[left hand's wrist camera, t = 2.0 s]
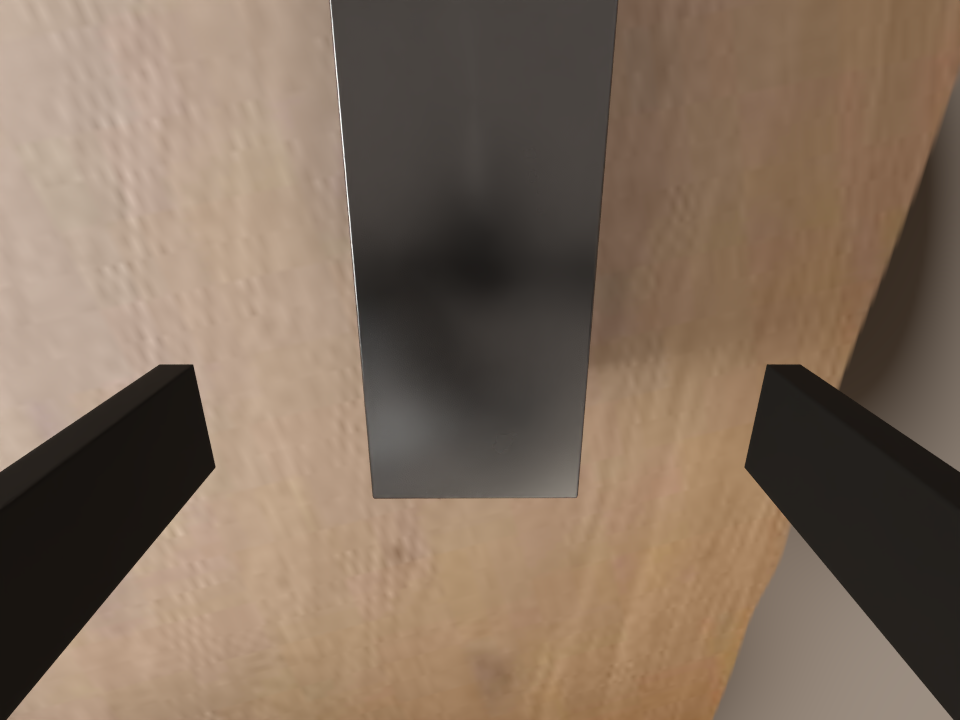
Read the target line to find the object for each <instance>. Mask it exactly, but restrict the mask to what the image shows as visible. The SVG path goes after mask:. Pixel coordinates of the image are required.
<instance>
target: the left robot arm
mask: <svg viewBox="0 0 960 720" xmlns="http://www.w3.org/2000/svg"><path fill="white" fill-rule="evenodd" d="M214 469H215V463H214V458H213V453H212V449H211V444H210V440H209V435H208V431H207V426H206V421H205V417H204V412H203V408H202V403H201V398H200V394H199V389H198V385H197V380H196V376H195V371H194V366H193V365H158V366H157V367H155V368H154V369H152V370H151V371H149V372H148V373H146V374H145V375H143V376H142V377H140V378H139V379H138V380H136V381H135V382H133V383H132V384H130V385H129V386H127V387H126V388H124V389H123V390H121V391H120V392H118V393H117V394H115V395H114V396H112V397H111V398H109V399H108V400H106V401H105V402H103V403H102V404H100V405H99V406H98V407H96V408H95V409H93V410H92V411H90V412H89V413H87V414H86V415H84V416H83V417H81V418H80V419H78V420H77V421H75V422H74V423H72V424H71V425H69V426H68V427H66V428H65V429H63V430H62V431H61V432H59V433H58V434H56V435H55V436H53V437H52V438H50V439H49V440H47V441H46V442H44V443H43V444H41V445H40V446H38V447H37V448H35V449H34V450H32V451H31V452H29V453H28V454H26V455H25V456H24V457H22V458H21V459H19V460H18V461H16V462H15V463H13V464H12V465H10V466H9V467H7V468H6V469H4V470H3V471H1V472H0V720H7V718H8V717H9V716H10V715H11V714H12V712H13V711H14V710H15V709H16V708H17V706H18V705H19V704H20V703H21V702H22V700H23V699H24V698H25V697H26V695H27V694H28V693H29V692H30V691H31V689H32V688H33V687H34V686H35V685H36V683H37V682H38V681H39V680H40V679H41V677H42V676H43V675H44V674H45V673H46V671H47V670H48V669H49V668H50V667H51V665H52V664H53V663H54V662H55V660H56V659H57V658H58V657H59V656H60V654H61V653H62V652H63V651H64V650H65V648H66V647H67V646H68V645H69V644H70V642H71V641H72V640H73V639H74V638H75V636H76V635H77V634H78V633H79V632H80V630H81V629H82V628H83V627H84V625H85V624H86V623H87V622H88V621H89V619H90V618H91V617H92V616H93V615H94V613H95V612H96V611H97V610H98V609H99V607H100V606H101V605H102V604H103V603H104V601H105V600H106V599H107V598H108V597H109V595H110V594H111V593H112V592H113V590H114V589H115V588H116V587H117V586H118V584H119V583H120V582H121V581H122V580H123V578H124V577H125V576H126V575H127V574H128V572H129V571H130V570H131V569H132V568H133V566H134V565H135V564H136V563H137V562H138V560H139V559H140V558H141V557H142V555H143V554H144V553H145V552H146V551H147V549H148V548H149V547H150V546H151V545H152V543H153V542H154V541H155V540H156V539H157V537H158V536H159V535H160V534H161V533H162V531H163V530H164V529H165V528H166V527H167V525H168V524H169V523H170V522H171V520H172V519H173V518H174V517H175V516H176V514H177V513H178V512H179V511H180V510H181V508H182V507H183V506H184V505H185V504H186V502H187V501H188V500H189V499H190V498H191V496H192V495H193V494H194V493H195V492H196V490H197V489H198V488H199V487H200V485H201V484H202V483H203V482H204V481H205V479H206V478H207V477H208V476H209V475H210V473H211V472H212V471H213V470H214ZM745 469H746V470H747V471H748V472H749V473H750V475H751V476H752V477H753V478H754V479H755V481H756V482H757V483H758V484H759V485H760V487H761V488H762V489H763V490H764V492H765V493H766V494H767V495H768V496H769V498H770V499H771V500H772V501H773V502H774V504H775V505H776V506H777V507H778V508H779V510H780V511H781V512H782V513H783V514H784V516H785V517H786V518H787V519H788V520H789V522H790V523H791V524H792V525H793V527H794V528H795V529H796V530H797V531H798V533H799V534H800V535H801V536H802V537H803V539H804V540H805V541H806V542H807V543H808V545H809V546H810V547H811V548H812V549H813V551H814V552H815V553H816V554H817V555H818V557H819V558H820V559H821V560H822V562H823V563H824V564H825V565H826V566H827V568H828V569H829V570H830V571H831V572H832V574H833V575H834V576H835V577H836V578H837V580H838V581H839V582H840V583H841V584H842V586H843V587H844V588H845V589H846V590H847V592H848V593H849V594H850V595H851V597H852V598H853V599H854V600H855V601H856V602H857V604H858V605H859V606H860V607H861V609H862V610H863V611H864V612H865V613H866V615H867V616H868V617H869V618H870V619H871V621H872V622H873V623H874V624H875V625H876V627H877V628H878V629H879V630H880V631H881V633H882V634H883V635H884V636H885V638H886V639H887V640H888V641H889V642H890V644H891V645H892V646H893V647H894V648H895V650H896V651H897V652H898V653H899V654H900V656H901V657H902V658H903V659H904V660H905V662H906V663H907V664H908V665H909V666H910V668H911V669H912V670H913V671H914V673H915V674H916V675H917V676H918V677H919V679H920V680H921V681H922V682H923V683H924V684H925V686H926V687H927V688H928V689H929V691H930V692H931V693H932V694H933V695H934V697H935V698H936V699H937V700H938V702H939V703H940V704H941V705H942V706H943V708H944V709H945V710H946V711H947V712H948V714H949V715H950V716H951V717H952V718H953V720H960V472H959V471H957V470H956V469H954V468H953V467H951V466H950V465H948V464H947V463H945V462H944V461H942V460H941V459H939V458H938V457H936V456H935V455H933V454H932V453H931V452H929V451H928V450H926V449H925V448H923V447H922V446H920V445H919V444H917V443H916V442H914V441H913V440H911V439H910V438H908V437H907V436H905V435H904V434H902V433H901V432H899V431H898V430H896V429H895V428H894V427H892V426H891V425H889V424H888V423H886V422H885V421H883V420H882V419H880V418H879V417H877V416H876V415H874V414H873V413H871V412H870V411H868V410H867V409H865V408H864V407H862V406H861V405H859V404H858V403H857V402H855V401H854V400H852V399H851V398H849V397H848V396H846V395H845V394H843V393H842V392H840V391H839V390H837V389H836V388H834V387H833V386H831V385H830V384H828V383H827V382H825V381H824V380H822V379H821V378H820V377H818V376H817V375H815V374H814V373H812V372H811V371H809V370H808V369H806V368H805V367H803V366H802V365H767V366H766V371H765V376H764V380H763V385H762V389H761V394H760V398H759V403H758V408H757V412H756V417H755V421H754V426H753V431H752V435H751V440H750V444H749V449H748V453H747V458H746V463H745Z"/></svg>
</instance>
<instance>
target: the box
mask: <svg viewBox="0 0 960 720" xmlns="http://www.w3.org/2000/svg"><path fill="white" fill-rule="evenodd" d="M329 3H330V15H331V26H332V38H333V49H334V60H335V72H336V83H337V95H338V106H339V117H340V129H341V140H342V152H343V163H344V174H345V186H346V197H347V209H348V220H349V231H350V243H351V254H352V265H353V277H354V288H355V300H356V311H357V322H358V334H359V345H360V357H361V368H362V379H363V391H364V402H365V414H366V425H367V436H368V448H369V459H370V471H371V482H372V493H373V498H375V499H395V498H576V497H577V496H578V486H579V474H580V462H581V450H582V437H583V425H584V413H585V401H586V389H587V376H588V364H589V352H590V340H591V328H592V315H593V303H594V291H595V279H596V267H597V254H598V242H599V230H600V218H601V205H602V193H603V181H604V169H605V157H606V144H607V132H608V120H609V108H610V96H611V83H612V71H613V59H614V47H615V35H616V22H617V10H618V0H329Z"/></svg>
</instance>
